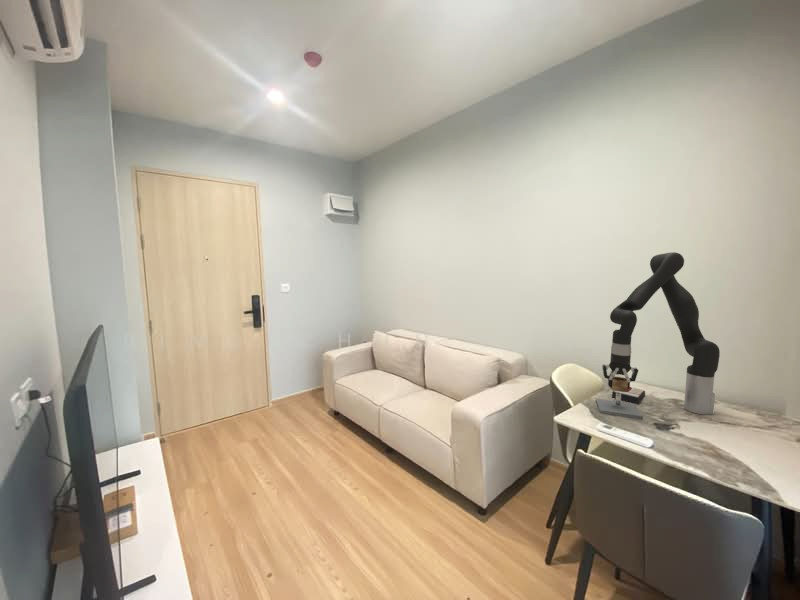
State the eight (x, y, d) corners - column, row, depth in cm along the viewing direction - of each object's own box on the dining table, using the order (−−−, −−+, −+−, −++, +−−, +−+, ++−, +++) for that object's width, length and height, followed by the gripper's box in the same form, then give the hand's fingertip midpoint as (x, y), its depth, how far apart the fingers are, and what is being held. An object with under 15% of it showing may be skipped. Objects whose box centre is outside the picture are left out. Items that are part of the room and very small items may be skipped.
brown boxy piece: (624, 388, 150) (625, 377, 150) (627, 392, 145) (627, 381, 144) (610, 386, 152) (610, 376, 152) (612, 390, 147) (613, 380, 147)
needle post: (620, 404, 150) (620, 391, 149) (620, 405, 148) (621, 393, 147) (615, 403, 151) (615, 391, 150) (615, 405, 149) (616, 392, 148)
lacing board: (634, 406, 153) (634, 403, 152) (642, 419, 140) (642, 416, 140) (595, 401, 159) (595, 398, 159) (599, 413, 147) (600, 410, 146)
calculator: (645, 389, 165) (638, 396, 155) (644, 397, 165) (638, 405, 155) (620, 384, 173) (612, 390, 163) (619, 391, 173) (611, 398, 163)
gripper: (637, 352, 147) (635, 387, 149) (601, 349, 153) (599, 383, 155) (642, 356, 140) (639, 393, 142) (603, 353, 146) (601, 388, 148)
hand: (618, 388), depth 149 cm, fingers closed on brown boxy piece, 5 cm apart
